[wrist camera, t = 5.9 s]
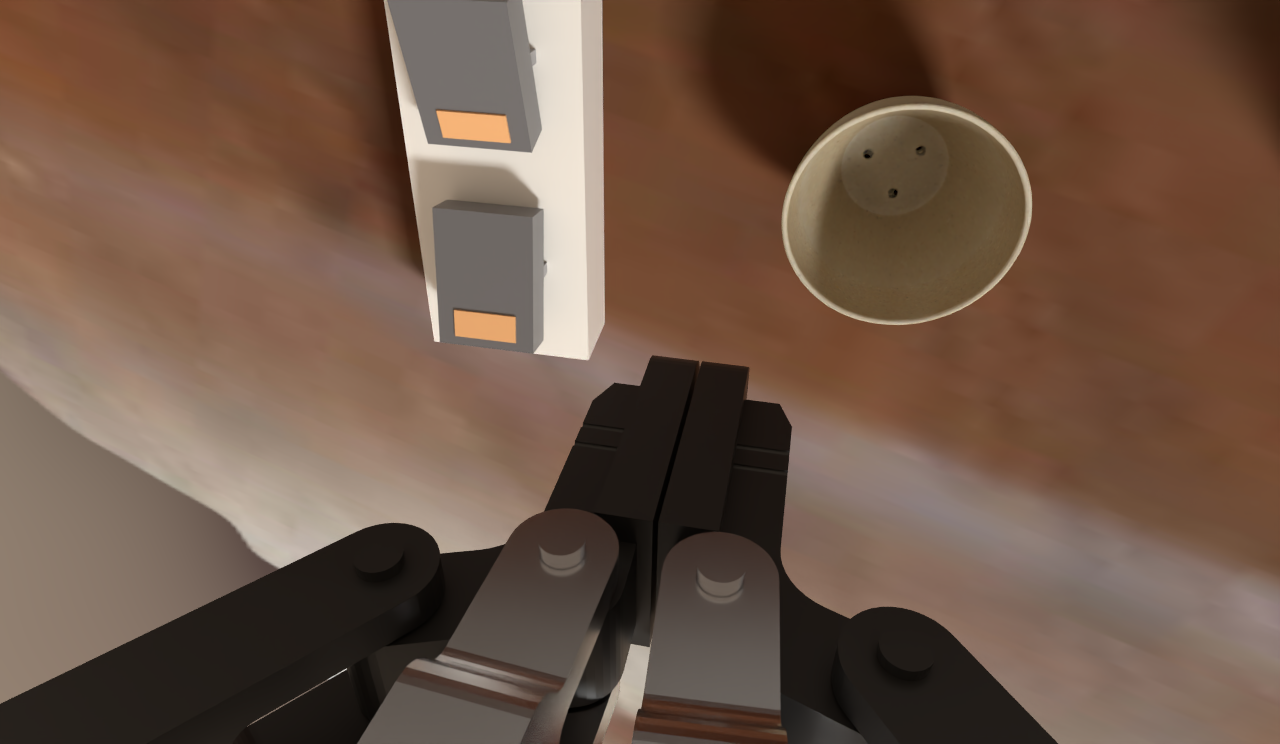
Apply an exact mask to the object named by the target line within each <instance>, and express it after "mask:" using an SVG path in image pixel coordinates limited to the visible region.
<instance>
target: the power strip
mask: <svg viewBox="0 0 1280 744" xmlns="http://www.w3.org/2000/svg"><path fill="white" fill-rule="evenodd" d="M522 2H523V8H524V15H525V21H526V28H527V34H528V41H529V47H530V54H531V60H532V67H533V73H534V80H535V86H536V93H537V99H538V106H539V112H540V119H541V125H542V131H541V133H540V135H539V138H538V140H537V142H536V145H535V147H534V149H533V151H532V153H529V152H518V151H506V150H494V149H483V148H471V147H459V146H448V145H436V144H428V142H427V138H426V135H425V131H424V128H423V124H422V121H421V117H420V114H419V110H418V107H417V104H416V100H415V97H414V93H413V90H412V86H411V83H410V79H409V76H408V72H407V69H406V65H405V62H404V58H403V55H402V51H401V48H400V44H399V41H398V37H397V34H396V30H395V27H394V23H393V20H392V16H391V13H390V9H389V6H388V2H387V0H384V4H385V11H386V18H387V24H388V31H389V38H390V45H391V51H392V58H393V65H394V72H395V78H396V85H397V92H398V99H399V105H400V112H401V119H402V125H403V132H404V139H405V146H406V152H407V159H408V166H409V173H410V179H411V186H412V193H413V200H414V206H415V213H416V220H417V227H418V233H419V240H420V247H421V254H422V260H423V267H424V274H425V281H426V287H427V294H428V301H429V308H430V314H431V321H432V328H433V334H434V341H436V342H440V336H439V318H438V301H437V283H436V266H435V248H434V231H433V213H432V207H434V206H436V205H438V204H440V203H441V202H443V201H445V200H458V201H468V202H479V203H489V204H500V205H510V206H521V207H531V208H541V209H544V341H543V342H542V343H541V344H540V346H539V347H538V348H537V350H536V351H535V352H534V354H542V355H550V356H559V357H567V358H575V359H583V360H589V358H590V356H591V354H592V351H593V349H594V347H595V344H596V342H597V340H598V338H599V335H600V333H601V331H602V328H603V326H604V324H605V295H604V171H603V48H602V0H522Z"/></svg>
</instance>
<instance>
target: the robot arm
mask: <svg viewBox="0 0 1280 744" xmlns="http://www.w3.org/2000/svg"><path fill="white" fill-rule="evenodd" d="M748 379H749V367H744V366H736V365H728V364H720V363H712V362H704V361H702V363H701V366H699V361H694V360H686V359H678V358H669V357H661V356H652V357H651V358H650V361H649V363H648V366H647V369H646V372H645V374H644V377H643V380H642V382H641V385H640V386H635V385H627V384H619V383H614V384H613V385H611V386H610V387H609V388H608V389H606V390H605V391H604V392H603V393H602V394H600V395H599V396H598V397H597V398H595V399H594V400H593V401H592V404H591V406H590V408H589V410H588V413H587V415H586V417H585V420H584V422H583V427H581V429H580V431H579V433H578V436H577V438H576V440H575V445H574V446H573V447H572V449H571V451H570V454H569V456H568V458H567V461H566V463H565V465H564V467H563V470H562V472H561V474H560V476H559V479H558V481H557V483H556V486H555V488H554V490H553V492H552V495H551V497H550V499H549V501H548V504H547V506H546V508H545V511H544V512H542V513H539V514H536V515H534V516H532V517H530V518H528V519H527V520H525V521H524V522H523V523H521V524H520V525H519V526H518V527H517V528H516V529H515V530H514V532H513V533H512V534H511V536H510V537H509V539H508V541H507V542H506V544H504V545H501V546H497V547H494V548H489V549H483V550H474V551H463V552H453V553H443V554H440V551H439V548H438V545H437V543H436V541H435V540H434V538H433V537H432V536H431V535H430V534H429V533H428V532H426V531H424V530H423V529H421V528H418V527H416V526H413V525H409V524H403V523H385V524H379V525H374V526H371V527H368V528H365V529H362V530H360V531H357V532H355V533H353V534H351V535H349V536H347V537H345V538H343V539H341V540H339V541H336V542H334V543H332V544H330V545H328V546H326V547H324V548H322V549H320V550H318V551H316V552H314V553H312V554H310V555H307V556H305V557H303V558H301V559H299V560H297V561H295V562H293V563H291V564H289V565H287V566H285V567H283V568H281V569H278V570H277V571H274V572H272V573H270V574H268V575H266V576H264V577H262V578H260V579H258V580H256V581H254V582H252V583H250V584H247V585H245V586H243V587H241V588H239V589H237V590H235V591H233V592H231V593H229V594H227V595H225V596H223V597H221V598H218V599H216V600H214V601H212V602H210V603H208V604H206V605H204V606H202V607H200V608H198V609H196V610H194V611H192V612H189V613H187V614H185V615H183V616H181V617H179V618H177V619H175V620H173V621H171V622H169V623H167V624H165V625H163V626H161V627H159V628H156V629H154V630H152V631H150V632H148V633H146V634H144V635H142V636H140V637H138V638H136V639H134V640H132V641H130V642H127V643H126V644H123V645H121V646H119V647H117V648H115V649H113V650H111V651H109V652H107V653H105V654H103V655H100V656H98V657H97V658H94V659H92V660H90V661H88V662H86V663H84V664H82V665H80V666H78V667H76V668H74V669H72V670H70V671H67V672H65V673H64V674H61V675H59V676H57V677H55V678H53V679H51V680H49V681H47V682H45V683H43V684H40V685H39V686H36V687H34V688H32V689H30V690H28V691H26V692H24V693H22V694H20V695H18V696H16V697H14V698H11V699H9V700H8V701H5V702H3V703H1V704H0V744H602V742H603V739H604V737H605V734H606V731H607V728H608V725H609V722H610V720H611V717H612V714H613V711H614V708H615V705H616V703H617V700H618V696H619V692H620V679H621V676H622V674H623V671H624V667H625V663H626V660H627V656H628V652H629V648H630V644H635V645H641V646H646V647H650V643H651V648H650V655H649V662H648V669H647V676H646V682H645V689H644V696H643V702H642V707H641V709H638V712H637V716H636V720H635V726H634V731H633V738H632V744H1058V743H1057V742H1056V741H1055V740H1054V739H1053V738H1052V737H1051V736H1050V735H1049V734H1048V733H1047V732H1046V731H1045V730H1044V729H1043V728H1042V727H1041V726H1040V725H1039V723H1038V722H1037V721H1036V720H1035V719H1034V718H1033V717H1032V716H1031V715H1030V714H1029V713H1028V712H1027V711H1026V710H1025V709H1024V708H1023V707H1022V706H1021V705H1020V704H1019V703H1018V702H1017V701H1016V700H1015V699H1014V698H1013V697H1012V696H1011V695H1010V694H1009V693H1008V692H1007V691H1006V689H1005V688H1004V687H1003V686H1002V685H1001V684H1000V683H999V682H998V681H997V680H996V679H995V678H994V677H993V676H992V675H991V674H990V673H989V672H988V671H987V670H986V669H985V668H984V667H983V666H982V665H981V664H980V663H979V662H978V661H977V660H976V659H975V658H974V657H973V655H972V654H971V653H970V652H969V651H968V650H967V649H966V648H965V647H964V646H963V645H962V644H961V643H960V642H959V641H958V640H957V639H956V638H955V637H954V636H953V635H952V634H951V633H950V632H949V631H948V630H947V629H945V628H944V627H943V626H941V625H940V624H939V623H937V622H936V621H934V620H932V619H930V618H929V617H927V616H925V615H922V614H920V613H917V612H915V611H912V610H908V609H904V608H897V607H877V608H871V609H868V610H865V611H862V612H860V613H859V614H857V615H855V616H854V617H852V618H851V619H849V618H847V617H845V616H843V615H840V614H838V613H836V612H834V611H831V610H829V609H827V608H825V607H823V606H821V605H819V604H817V603H815V602H814V601H812V600H811V599H809V598H808V597H807V596H805V595H804V594H803V593H802V592H801V591H800V590H798V589H797V588H796V586H795V585H794V584H793V583H792V582H791V580H790V579H789V577H788V576H787V574H786V572H785V570H784V567H783V565H782V561H781V550H780V549H781V538H782V527H783V516H784V506H785V495H786V484H787V473H788V463H789V452H790V441H791V430H792V426H791V424H790V423H789V421H788V419H787V417H786V415H785V413H784V411H783V409H782V407H781V406H780V404H776V403H768V402H760V401H752V400H746V399H747V389H748ZM651 639H652V642H651ZM346 668H347V670H345V671H344V672H342V673H340V674H338V675H337V676H335V677H333V678H332V679H330V680H328V681H326V682H325V683H323V684H321V685H319V686H318V687H316V688H314V689H312V690H311V691H309V692H307V693H305V694H304V695H302V696H300V697H298V698H297V699H295V700H293V701H291V702H290V703H288V704H286V705H284V706H283V707H281V708H279V709H278V710H276V711H274V712H272V713H271V714H269V715H267V716H265V717H264V718H262V719H260V720H258V721H257V722H255V723H253V724H251V723H252V722H254V721H255V720H257V719H259V718H260V717H262V716H264V715H266V714H268V713H269V712H271V711H273V710H274V709H276V708H278V707H279V706H281V705H283V704H285V703H287V702H288V701H290V700H292V699H294V698H295V697H297V696H299V695H301V694H302V693H304V692H306V691H308V690H309V689H311V688H313V687H315V686H316V685H318V684H320V683H322V682H323V681H325V680H327V679H329V678H330V677H332V676H334V675H336V674H337V673H339V672H341V671H343V670H344V669H346ZM249 724H251V725H249ZM248 725H249V726H248ZM247 726H248V727H247Z"/></svg>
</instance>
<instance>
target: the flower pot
mask: <svg viewBox="0 0 1280 744" xmlns="http://www.w3.org/2000/svg"><path fill="white" fill-rule="evenodd" d="M920 146H922V148H921V149H920V150H916V149H917V148H918V147H920ZM864 154H868V155H870V156H871V157H870V158H866V157H864ZM895 189H896V190H897V195H895V194H894V190H895ZM1031 214H1032V193H1031V187H1030V182H1029V178H1028V175H1027V172H1026V170H1025V167H1024V165H1023V163H1022V161H1021V159H1020V157H1019V155H1018V153H1017V152H1016V150H1015V149H1014V148H1013V146H1012V145H1011V144H1010V143H1009V141H1008V140H1007V139H1006V138H1005V137H1004V136H1003V135H1002V134H1001V133H1000V132H999V131H998V130H997V129H996V128H994V127H993V126H992V125H991V124H990V123H988V122H987V121H986V120H984V119H983V118H981V117H980V116H978V115H977V114H975V113H974V112H972V111H970V110H968V109H966V108H964V107H962V106H959V105H957V104H954V103H951V102H948V101H945V100H941V99H937V98H932V97H925V96H899V97H892V98H886V99H882V100H879V101H875V102H872V103H870V104H867V105H865V106H862V107H860V108H858V109H856V110H854V111H852V112H851V113H849V114H847V115H845V116H844V117H843V118H841V119H840V120H838V121H837V122H836V123H834V124H833V125H832V126H831V127H830V128H828V129H827V130H826V131H825V132H824V133H823V134H822V135H821V136H820V137H819V138H818V139H817V141H816V142H815V143H814V144H813V145H812V146H811V148H810V149H809V150H808V152H807V153H806V155H805V156H804V157H803V159H802V161H801V162H800V164H799V166H798V167H797V169H796V171H795V173H794V175H793V178H792V180H791V182H790V185H789V187H788V190H787V193H786V196H785V200H784V204H783V210H782V236H783V243H784V247H785V250H786V254H787V257H788V259H789V262H790V264H791V266H792V268H793V270H794V271H795V273H796V275H797V276H798V277H799V279H800V280H801V282H802V283H803V284H804V285H805V287H806V288H807V289H808V290H809V291H810V292H811V293H812V294H813V295H814V296H815V297H817V298H818V299H819V300H820V301H822V302H823V303H824V304H826V305H827V306H829V307H830V308H832V309H834V310H836V311H838V312H839V313H842V314H844V315H846V316H849V317H852V318H855V319H858V320H862V321H866V322H870V323H877V324H888V325H905V324H915V323H921V322H926V321H930V320H934V319H937V318H940V317H943V316H946V315H949V314H952V313H954V312H956V311H958V310H960V309H962V308H964V307H966V306H968V305H969V304H971V303H973V302H974V301H976V300H977V299H979V298H980V297H982V296H983V295H984V294H985V293H987V292H988V291H989V290H991V289H992V288H993V287H994V286H995V285H996V284H997V283H998V282H999V281H1000V280H1001V279H1002V277H1003V276H1004V275H1005V274H1006V273H1007V271H1008V270H1009V269H1010V267H1011V266H1012V264H1013V263H1014V261H1015V260H1016V258H1017V256H1018V255H1019V253H1020V251H1021V249H1022V247H1023V245H1024V242H1025V240H1026V237H1027V234H1028V230H1029V227H1030V222H1031Z"/></svg>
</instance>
